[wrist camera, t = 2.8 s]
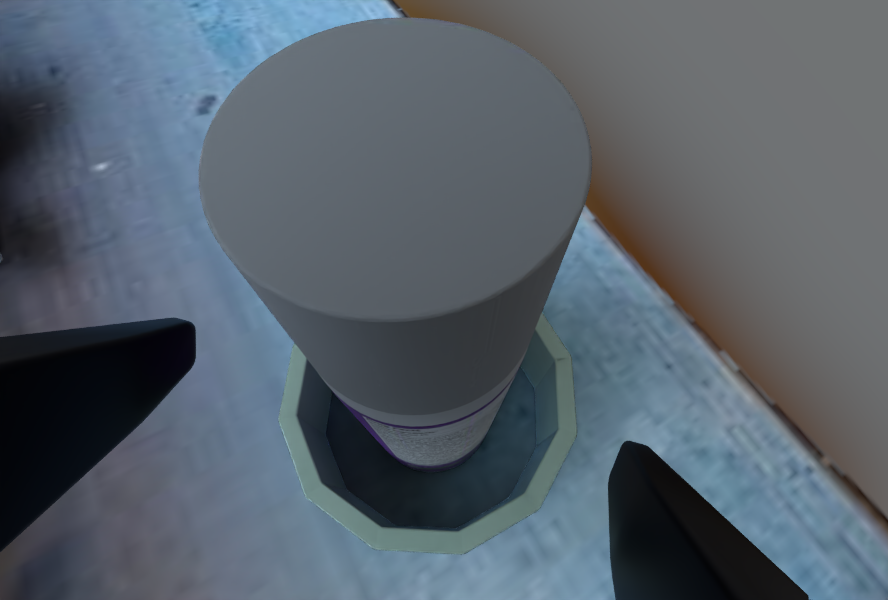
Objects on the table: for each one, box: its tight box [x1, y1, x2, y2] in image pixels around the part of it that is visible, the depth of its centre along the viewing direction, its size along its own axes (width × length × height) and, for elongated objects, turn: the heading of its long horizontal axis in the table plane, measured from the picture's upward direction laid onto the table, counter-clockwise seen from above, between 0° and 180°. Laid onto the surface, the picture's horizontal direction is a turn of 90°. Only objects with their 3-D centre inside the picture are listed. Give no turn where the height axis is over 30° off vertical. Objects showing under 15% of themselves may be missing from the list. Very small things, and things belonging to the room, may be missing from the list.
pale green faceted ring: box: [279, 313, 577, 555], centre depth 17 cm, size 10×10×4 cm
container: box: [199, 18, 592, 473], centre depth 12 cm, size 5×5×15 cm
